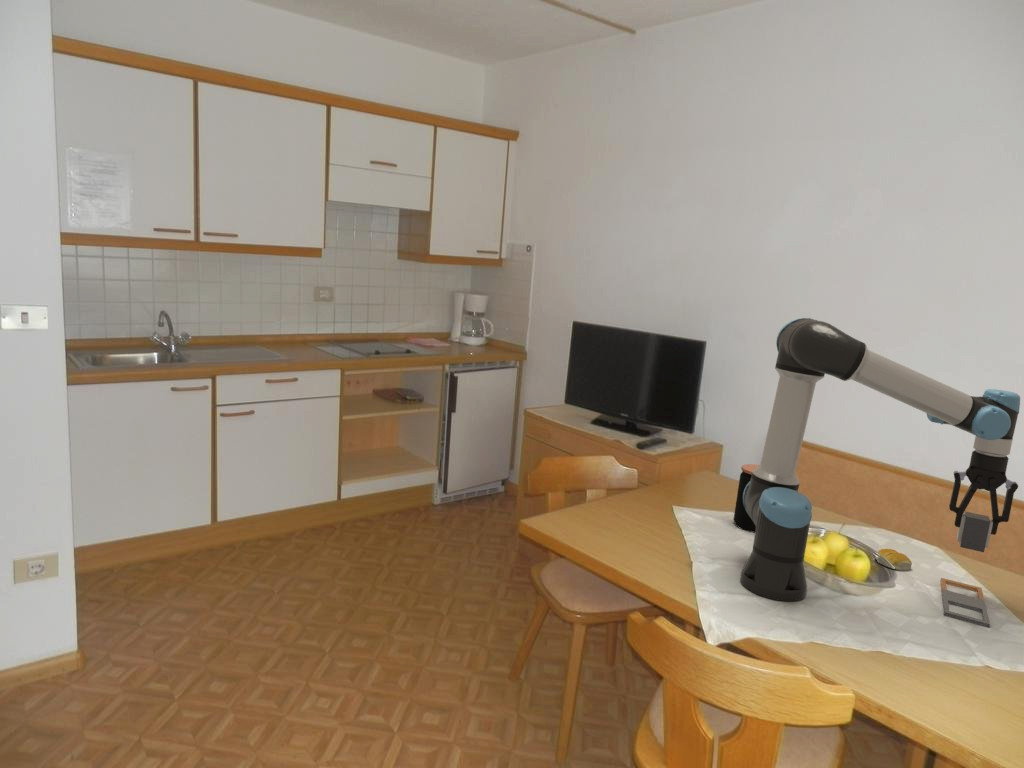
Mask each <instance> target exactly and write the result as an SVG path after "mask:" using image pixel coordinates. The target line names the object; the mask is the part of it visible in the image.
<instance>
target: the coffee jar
mask: <svg viewBox="0 0 1024 768" xmlns="http://www.w3.org/2000/svg"><path fill="white" fill-rule="evenodd" d="M759 466H760V464H751V463H749V464H743V465H741V471H742V472H741V473H740V474H739V482H738V488H737V494H736V500H735V506H734V514H733V522H734V524H735V526H736V525H737V526H736V527H737V528H739V527H740V529H741V528H742V530H744V529H745V530H744V531H747V530H749V531H748V532H751V531H756V525H755V524H754V522H753V521H752V519H751V518H750V516H749V515H748V514H747V512H746V510H745V507H744V504H743V492H744V489H745V487H746V485H747V484H748V483H749V482H750V481H751V476H752V472H753V470H754V469H756V468H758V467H759Z"/></svg>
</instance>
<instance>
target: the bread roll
mask: <svg viewBox="0 0 1024 768" xmlns="http://www.w3.org/2000/svg"><path fill="white" fill-rule="evenodd" d="M877 552H878V553H879V554H880V555H882V556H883V557H885V558H886V559H887V560H888V561H889V562H890V563H891V564H892V565H893V566H894V567H895V569H896V570H895V571H899V572H900V571H903V572H905V571H909V570H911V568H912V565H913V564H912V563H913V562H912V561H911V559H910V558H909V557H908V556H907V555H906V554H903V553H901V552H898V551H897V550H895V549H892V548H882V549H879V550H878V551H876V553H877Z"/></svg>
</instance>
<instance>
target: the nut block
mask: <svg viewBox="0 0 1024 768" xmlns="http://www.w3.org/2000/svg"><path fill="white" fill-rule="evenodd" d="M964 514H965V516H966V518H965V523H964V528H963V533H962V538H961V542H960V541H958V543H959V546H960V548H962V549H968V550H971V551H976V552H981V553H985V548H986V547H985V545H986V540H987V535H988V531H989V526H990V520H991V519H990V517H989V516H988V515H984V514H981V513H980V514H979V513H975V512H970V511H966V510H965V511H964Z"/></svg>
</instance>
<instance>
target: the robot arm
mask: <svg viewBox="0 0 1024 768" xmlns="http://www.w3.org/2000/svg"><path fill="white" fill-rule="evenodd" d="M776 349H777V352H778V353H777V357H776V363H775V367H774V369H775V371H776V372H777V374H778V375H779V378H778V383H777V388H776V393H775V397H774V402H773V406H772V409H771V415H770V419H769V424H768V428H767V433H766V437H765V442H764V446H763V450H762V457H761V460H760V464H759V465H760V466H759V467H758V468H756V469H754V470H753V472H752V476H751V481H750V482H749V483H748V484H747V485H746V487H745V489H744V492H743V504H744V507H745V510H746V512H747V514H748V515H749V516H750V518H751V519H752V521H753V522H754V524H755V525H756V531H755V532H754V538H753V544H752V550H751V553H750V554H749V556H748V558H747V560H746V562H745V564H744V565H743V567H742V569H741V572H740V573H741V574H740V579H739V580H740V583H741V584H742V586H743V587H744V588H745V589H746V590H749V591H750V592H752V593H754V594H756V595H759V596H761V597H764V598H768V599H770V600H771V599H772V600H776V601H784V602H796V601H800V600H803V599H805V598H806V596H807V591H808V582H807V578H806V572H805V566H804V558H805V554H806V549H807V548H806V547H807V543H808V538H809V537H808V535H809V530H810V525H811V521H812V519H813V516H812V514H813V512H812V511H813V504H812V502H811V500H810V499H809V497H807V496H806V494H803V493H800V492H798V491H799V487H800V482H801V481H800V479H799V478H798V476H797V475H796V472H797V467H798V463H799V458H800V454H801V450H802V447H803V442H804V441H803V440H804V436H805V434H806V433H805V432H806V429H807V425H808V419H809V416H810V410H811V406H812V401H813V396H814V392H815V389H816V385H817V384H816V383H818V382H819V381H820V380H822V379H824V378H825V374H826V375H829V376H832V377H833V378H834V377H835V378H837V379H839V380H840V381H843V382H847V381H850V380H852V381H854V382H856V383H858V384H861V385H863V386H865V387H867V388H870V389H872V390H874V391H877V392H879V393H881V394H883V395H885V396H888V397H890V398H893V399H894V400H897V401H899V402H901V403H903V404H905V405H908V406H910V407H912V408H913V409H916V410H919V411H920V412H923V413H925V414H926V417H927V419H928V420H929V421H930V422H931V423H935V424H936V423H937V424H940V425H950V426H952V427H955V428H957V429H960V430H962V431H964V432H967V433H970V434H971V435H974V436H975V437H974V442H973V446H972V447H973V449H974V450H972V451H971V457H970V462H969V465H968V468H967V469H966V470H964V471H958V470H955V471H954V472H953V477H954V482H953V486H952V491H951V496H950V502H949V505H948V507H949V511H951V512H953V513H955V520H954V526H955V527H956V528H958V530H957V535H956V541H957V542H959V541H960V542H961V538H962V533H963V528H964V523H965V518H966V516H965V511H966V509H968V506H969V504H970V502H972V501H971V500H972V499H973V496H975V493H976V492H977V491H978V490H984V491H987V492H989V497H990V498H989V499H990V507H991V517H992V519H990V526H989V531H988V535H987V540H986V545H985V548H987V549H988V548H989V544H990V539H991V535H993V536H996V534H997V531H998V526H999V523H1008V522H1009V521H1010V515H1011V510H1012V505H1013V499H1014V495H1015V493H1016V491H1017V489H1019V484H1018V483H1017V482H1016V481H1013V480H1010V479H1008V478H1007V475H1006V473H1007V468H1008V464H1009V458H1008V457H1009V455H1011V450H1012V444H1013V439H1014V434H1015V430H1016V425H1017V422H1018V421H1017V420H1018V416H1019V414H1020V407H1021V396H1020V395H1019V394H1018V393H1016V392H1013V391H1009V390H1002V389H995V388H992V389H991V388H988V389H985V390H984V392H983V394H982V396H974V395H973V396H972V395H969V394H968V393H966V392H963V391H961V390H958V389H956V388H953V387H951V386H949V385H948V384H945V383H943V382H941V381H938V380H936V379H934V378H932V377H929V376H927V375H925V374H923V373H920V372H918V371H916V370H914V369H912V368H909V367H907V366H905V365H903V364H901V363H898V362H896V361H895V360H892V359H890V358H887V357H885V356H883V355H881V354H878V353H876V352H874V351H872V350H869V348H868V345H867V344H866V343H865V342H862V341H860V340H858V339H857V338H855V337H853V336H852V335H849V334H848V333H845V332H844V331H842V330H841V329H839V328H838V327H836V326H835V325H832V324H830V323H828V322H825V321H822V320H817V319H813V318H811V317H810V318H809V317H808V318H806V317H802V318H797V319H793V320H790V321H789V322H787V323H786V324H784V325H783V326H782V328H781V329H780V330H779V332H778V334H777V337H776ZM965 477H967V479H968V480H969V482H970V485H969V486H968V489H967V491H966V493H965V495H964V496H963V498H962V500H961V502H960V503H959V505H958V506H957V502H958V499H959V498H958V497H959V494H960V490H961V484H962V481H964V480H965ZM1004 484H1005V489H1006V492H1005V497H1004V501H1003V502H1004V503H1003V508H1002V513H1001V515H999V505H998V495H997V489H998V488H1000V487H1001V486H1002V485H1004Z"/></svg>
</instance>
